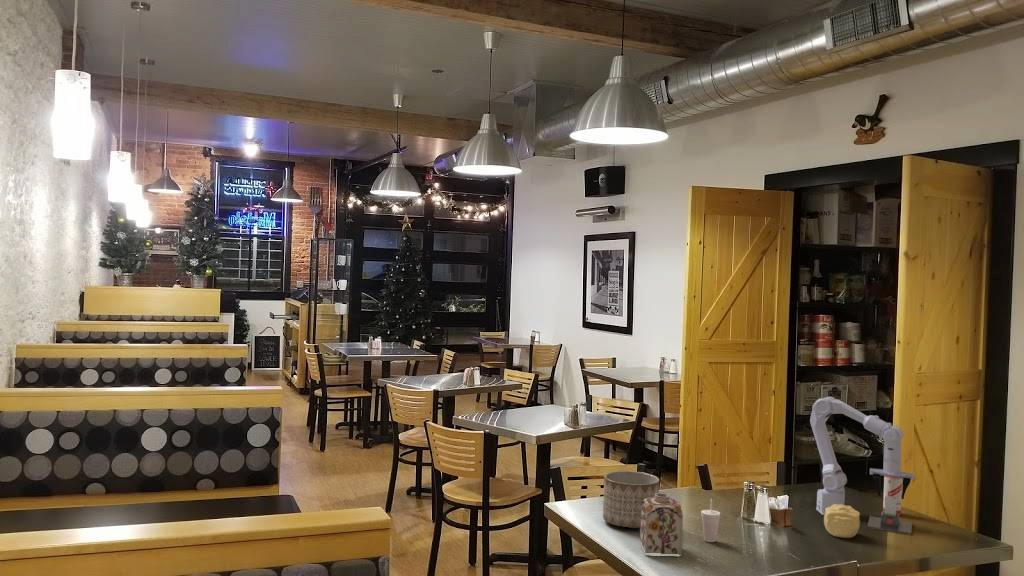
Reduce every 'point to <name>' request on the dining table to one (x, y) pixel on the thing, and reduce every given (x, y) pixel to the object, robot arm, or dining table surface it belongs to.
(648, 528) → the decorative jar
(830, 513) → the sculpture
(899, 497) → the beer can
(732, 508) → the dining table surface
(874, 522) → the grey square base
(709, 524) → the smoothie
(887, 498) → the block
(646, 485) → the planter
